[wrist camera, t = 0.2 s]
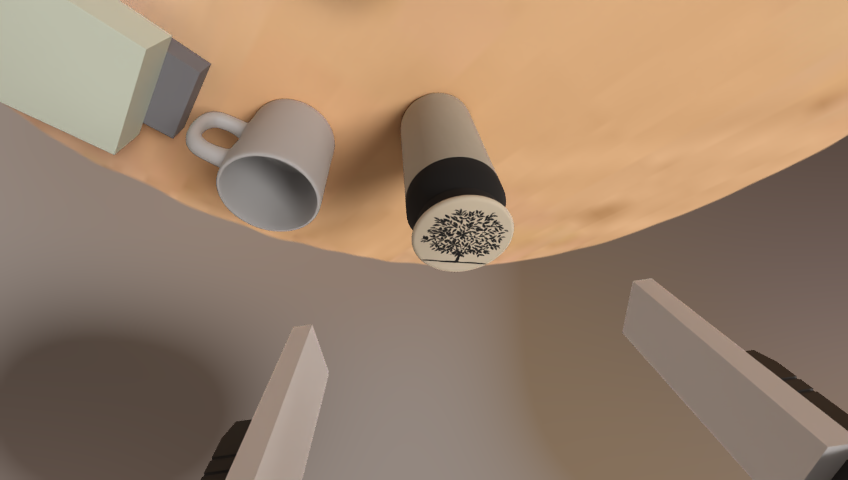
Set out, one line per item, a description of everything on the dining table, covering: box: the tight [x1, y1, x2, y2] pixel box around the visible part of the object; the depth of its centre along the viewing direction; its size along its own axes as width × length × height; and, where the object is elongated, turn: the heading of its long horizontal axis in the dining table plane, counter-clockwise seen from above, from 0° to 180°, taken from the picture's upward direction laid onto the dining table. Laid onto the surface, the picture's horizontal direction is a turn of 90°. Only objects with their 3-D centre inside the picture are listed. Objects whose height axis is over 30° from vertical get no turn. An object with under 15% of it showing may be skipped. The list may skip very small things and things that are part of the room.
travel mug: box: [401, 93, 514, 272], centre depth 30 cm, size 8×8×18 cm
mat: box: [143, 38, 211, 138], centre depth 26 cm, size 8×19×2 cm, turn 48°
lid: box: [0, 0, 172, 155], centre depth 24 cm, size 11×14×4 cm
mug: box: [186, 99, 335, 231], centre depth 31 cm, size 12×8×11 cm
